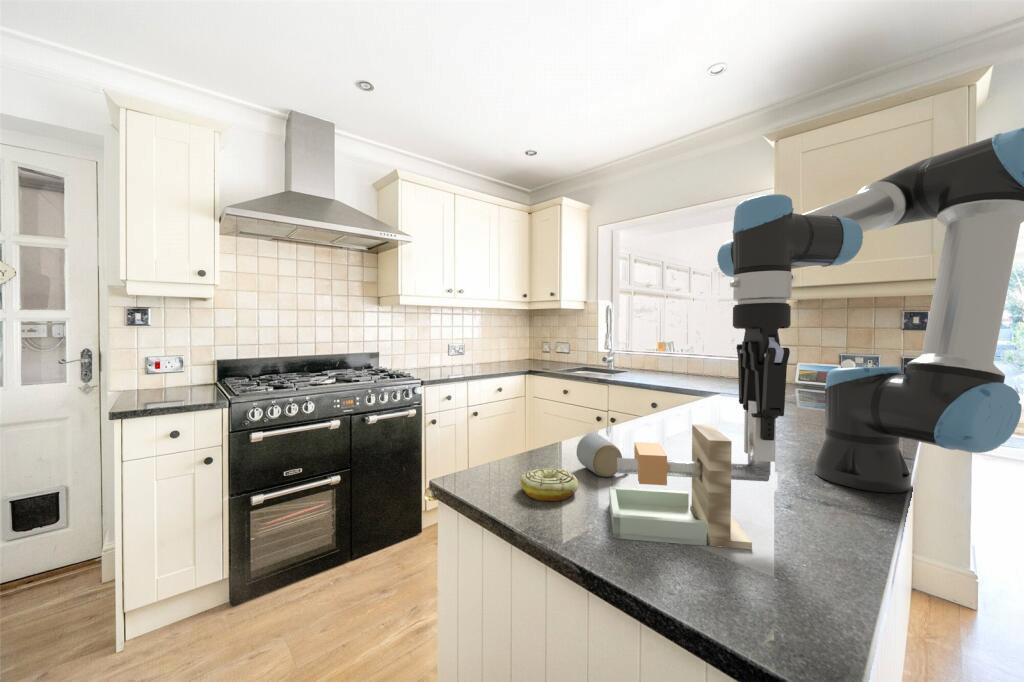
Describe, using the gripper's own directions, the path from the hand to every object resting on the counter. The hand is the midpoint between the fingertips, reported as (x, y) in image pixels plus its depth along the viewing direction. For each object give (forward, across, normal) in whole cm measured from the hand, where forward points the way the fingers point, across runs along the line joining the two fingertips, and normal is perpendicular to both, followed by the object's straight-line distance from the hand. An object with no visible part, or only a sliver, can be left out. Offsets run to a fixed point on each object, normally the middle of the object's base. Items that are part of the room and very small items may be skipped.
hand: (759, 456), depth 64 cm
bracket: (+12, 0, -6) cm, 13 cm away
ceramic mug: (+12, -23, -22) cm, 34 cm away
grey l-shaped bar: (+4, 0, -10) cm, 10 cm away
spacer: (+4, 0, -16) cm, 17 cm away
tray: (+12, 0, -16) cm, 19 cm away
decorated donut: (+12, -10, -33) cm, 37 cm away
